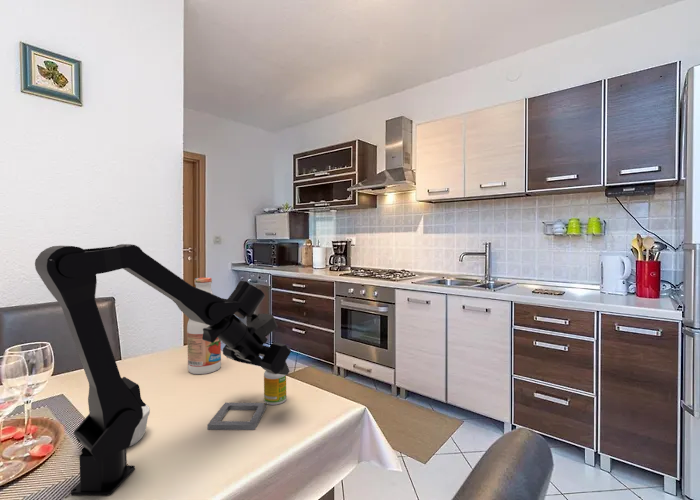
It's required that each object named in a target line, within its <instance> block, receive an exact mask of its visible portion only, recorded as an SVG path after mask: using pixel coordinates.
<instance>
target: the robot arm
mask: <svg viewBox="0 0 700 500" xmlns="http://www.w3.org/2000/svg"><path fill="white" fill-rule="evenodd" d="M34 268H35V271H36V273H37V274H38V276H39V278H40V279H41V281H42V282H43V284H44V285H45V287H46V289H47V290H48V291H49V292H50V294H51V295H52V296H53V298H54V299H55V300H56V301H57V302H58V304H59V305H60V307H61V310H62V312H63V315H64V317H65V321H66V323H67V326H68V329H69V332H70V334H71V337H72V340H73V343H74V346H75V348H76V350H77V351H76V352H77V354H78V356H79V360H80V362H81V365H82V367H83V370H84V374H85V376H86V380H87V381H88V387H89V388H88V396H87V402H88V403H87V404H88V412H89V413H88V415H87V416H85V418H84V420H82V422H81V423H80V424H79V425H78V426H77V427H76V429H74V430H73V436H74V437H75V439H76V441H77V442H78V443H79V444H80V445H82V449H81V454H79V456H78V458H79V459H78V460H79V461H78V462H79V482H78V484H76V485H75V486H74V487H73V488H72V489H70V495H75V496H76V495H78V496H80V495H81V496H88V495H89V496H109V495H111V494H114V492H115V491H116V489H117V488H119V487H120V486H121V484H122V483H123V482H124V481H126V479H127V478H128V477H129V476H130V475H131V474H132V473H133V472H134V471H135V470H136V466H135V465H127V464H128V463H127V462H128V461H127V458H128V457H127V449H128V448H130V447H131V446H130V443H131V440H132V437H133V434H134V431H135V428H136V427H137V426H138V425H139V423H140V421H141V419H142V418H143V409H142V407H143V406H146V405H147V404H146V403H145V402H144V401H143V399H142V395H141V388H140V385H139V383H136V382H135V381H133V380H131V379H129V378H127V377H126V376H123V377H121V376H122V375H121V373H120V371H119V368H118V364H117V361H116V357H115V356H114V353H113V350H112V346H111V344H110V341H109V337H108V334H107V332H106V329H105V325H104V322H103V320H102V317H101V313H100V310H99V308H98V305H97V304H98V303H97V302H96V291H97V281H98V279H97V275H99V274H105V273H110V272H115V271H119V270H124V271H126V272H128V273H129V274H131V275H132V276H134V277H135V278H137V279H138V280H139V281H141V282H143V283H144V284H147V285H148V286H149V287H151V288H153V289H154V290H156V291H157V292H158V293H160V294H162V295H163V296H165V297H167V298H168V299H170V300H172V302H173V303H174V304H175V305H176V306H177V308H178V309H179V310H180V311H181V312H182V313H183V314H184V315H185V316H186V317H187V318H188V320H189V319H191V320H193V321H196V322H200V323H203V324H207V325H210V326H209V327H207V328H204V329H203V337H202V339H203V340H205V341H208V342H211V343H213V342H214V341H215V340H216V339H217V338H218V339H219V340H221V343H223V344H224V347H223V348H222V355H223V356H225V357H226V358H227V359H229V360H233V361H235V362H238V363H241V364H242V363H243V364H247V365H251V366H257V367H260V368H262V370H264V371H267V372H270V373H272V374H282V375H286V376H288V375H289V373H290V369H289V366H288V364H287V359H288V358H289V356H290V354H291V352H292V350H291V348H290V347H289V346H288V345H287V344H284V343H281V342H272V343H271V344H270V345H269V346H267V345H266V343H267V342H268V336H269V335H270V334H271V333H272V332H273V331H275V330H277V329H278V326H279V325H278V324H277V322H276V319H275V317H274V315H273V314H269V313H258V314H256V313H255V312H256V310H257V309H258V308H259V306H260V304H261V303H262V302H263V300H264V299H265V297H266V295H265V293H264V292H263V291H262V289H259V288H258V287H257V286H255V285H252V284H250V283H249V282H248V281H247V280H239V282H237V283H238V284H237V285H236V287H235V288H234V290H233V291H232V292H231V294H230V295H229V297H228V298H224V297H223V298H222V297H220V296H217V295H216V294H214V293H213V294H211V293H209V292H206V291H203V290H201V289H198V288H196V286H193V285H192V284H189V282H188V281H186V280H185V279H182V278H181V277H180V276H178V275H177V274H176V273H174V272H172V271H171V270H170V269H169V268H167V267H166V266H164V265H162V263H160V262H158V261H157V260H155V259H154V258H153V257H151V256H150V255H148V254H147V253H145V251H143V250H142V249H141V247H140V246H137V245H136V244H129V243H128V244H127V243H126V244H124V243H121V244H117V245H114V246H112V245H111V246H103V247H93V248H82V247H80V246H75V245H74V246H72V245H54V246H49V247H48V248H45V249H44V250H42V251H41V252H40V253H39V254H38V255H37V257H36V258H35V261H34ZM245 318H246V324H245V323H244V322H243V321H242V320H241V319H243V320H244V319H245ZM261 357H262V358H261ZM129 446H130V447H129Z"/></svg>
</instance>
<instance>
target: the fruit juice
mask: <svg viewBox="0 0 700 500" xmlns="http://www.w3.org/2000/svg"><path fill="white" fill-rule="evenodd" d="M212 284H213V278H212V277H196V278H194V285H195V287H196V288H198V289H201V290H203V291H206V292H209V293H211V294H213V295H214V293H213V289H212ZM209 326H210V325H207V324H203V323H200V322H196V321H193V320H191V319H189V318H188V321H187V326H186V334H187V337H186V338H187V370H188V372H189V373H190V374H193V375H206V374H211V373H214V372H216V371H218V370H220V368H221V366H222V348H221V347H222V341H221V340H219V339H218V338H217V339H216V340H215V341H214V342H213V343H211V342H208V341H205V340H203V339H202V337H203V329H204V328H207V327H209Z"/></svg>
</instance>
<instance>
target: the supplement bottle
mask: <svg viewBox="0 0 700 500" xmlns="http://www.w3.org/2000/svg"><path fill="white" fill-rule="evenodd" d="M286 400H287V375H282V374H272V373H270V372H267V371H266V370H264V372H263V401H264V403H267V405H273V406H276V405H280V404H282V403H283V404H284V403H285V402H286Z"/></svg>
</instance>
